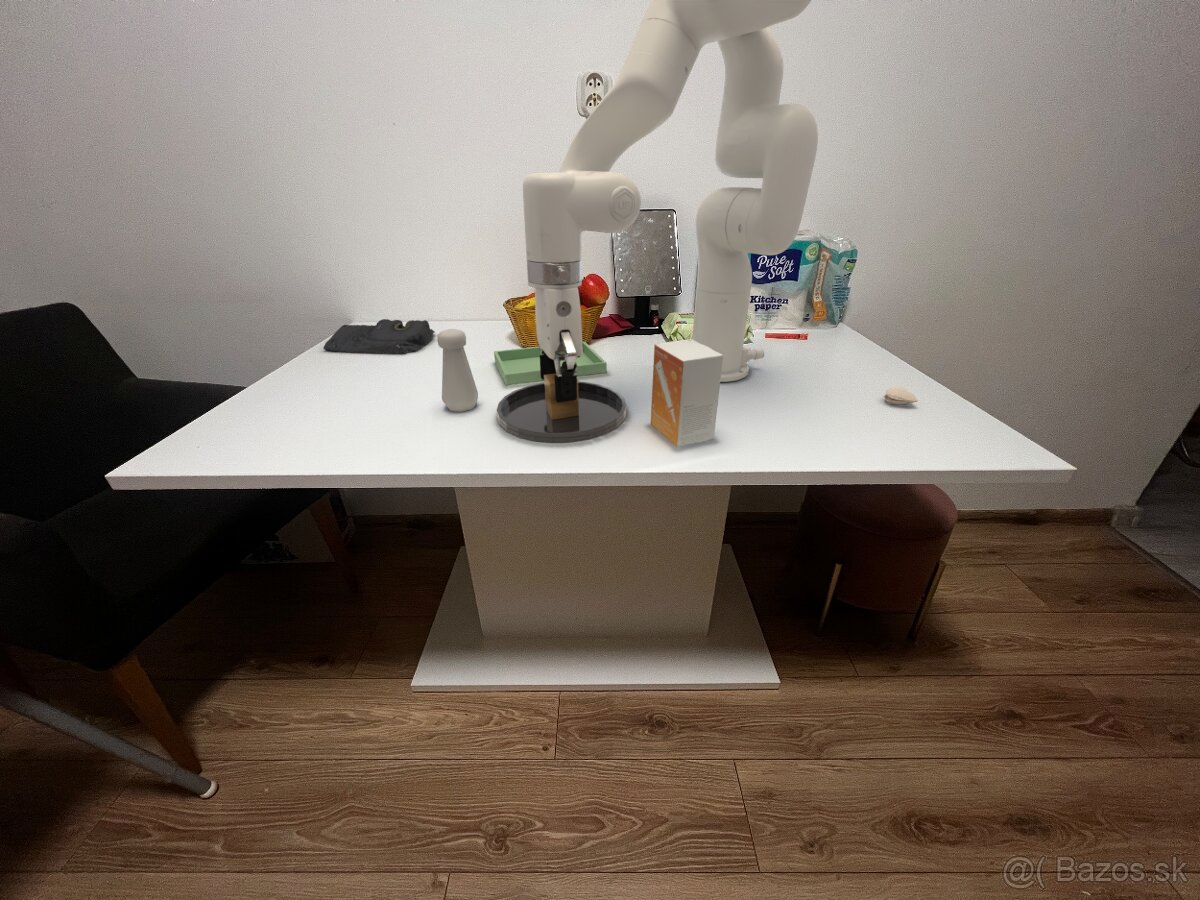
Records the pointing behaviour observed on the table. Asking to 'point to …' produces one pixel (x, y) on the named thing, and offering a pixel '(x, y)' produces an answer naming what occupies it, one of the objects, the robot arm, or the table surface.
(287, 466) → the table surface
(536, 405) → the pan
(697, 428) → the small box
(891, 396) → the beige pistachio shell
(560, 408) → the block
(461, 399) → the salt shaker
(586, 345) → the tray
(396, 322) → the dark crumpled cloth
